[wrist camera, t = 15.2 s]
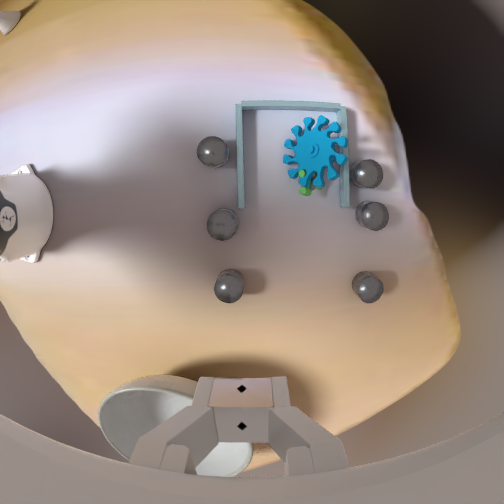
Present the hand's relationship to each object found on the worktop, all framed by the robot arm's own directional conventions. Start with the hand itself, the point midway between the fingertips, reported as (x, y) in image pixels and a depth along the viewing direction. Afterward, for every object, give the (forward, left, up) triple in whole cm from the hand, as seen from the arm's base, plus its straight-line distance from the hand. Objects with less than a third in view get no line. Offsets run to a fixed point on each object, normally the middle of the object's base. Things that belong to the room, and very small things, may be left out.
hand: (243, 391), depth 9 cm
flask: (-59, +58, -33) cm, 89 cm away
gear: (+8, +11, -33) cm, 36 cm away
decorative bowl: (-14, -32, -33) cm, 48 cm away
